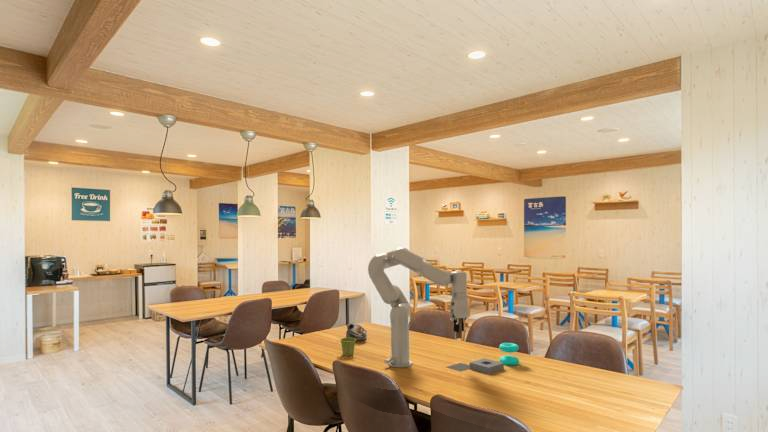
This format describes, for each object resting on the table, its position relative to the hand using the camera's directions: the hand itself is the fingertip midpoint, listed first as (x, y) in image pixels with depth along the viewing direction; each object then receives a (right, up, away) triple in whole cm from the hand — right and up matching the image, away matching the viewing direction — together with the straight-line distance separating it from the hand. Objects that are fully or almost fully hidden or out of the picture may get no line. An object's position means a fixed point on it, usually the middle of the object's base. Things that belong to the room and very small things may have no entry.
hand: (458, 331), depth 227 cm
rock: (-56, -23, +64) cm, 88 cm away
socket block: (+13, -18, -5) cm, 23 cm away
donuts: (+28, -19, +6) cm, 34 cm away
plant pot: (-59, -21, +27) cm, 68 cm away
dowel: (0, -3, 0) cm, 3 cm away
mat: (+1, -19, -1) cm, 19 cm away
